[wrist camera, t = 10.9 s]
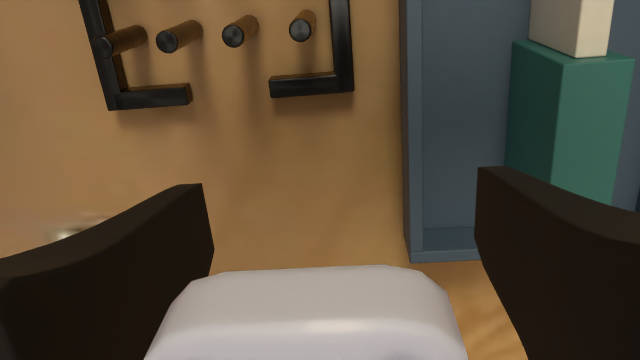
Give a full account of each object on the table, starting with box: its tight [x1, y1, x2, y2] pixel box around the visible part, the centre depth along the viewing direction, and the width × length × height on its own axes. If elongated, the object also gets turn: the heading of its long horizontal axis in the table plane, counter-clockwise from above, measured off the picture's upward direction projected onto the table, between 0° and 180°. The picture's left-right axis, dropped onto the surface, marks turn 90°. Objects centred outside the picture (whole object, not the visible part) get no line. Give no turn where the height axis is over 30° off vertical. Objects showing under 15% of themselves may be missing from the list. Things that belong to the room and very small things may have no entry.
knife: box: [504, 0, 635, 205], centre depth 17 cm, size 15×2×5 cm, turn 5°
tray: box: [399, 0, 640, 263], centre depth 19 cm, size 21×11×2 cm, turn 5°
